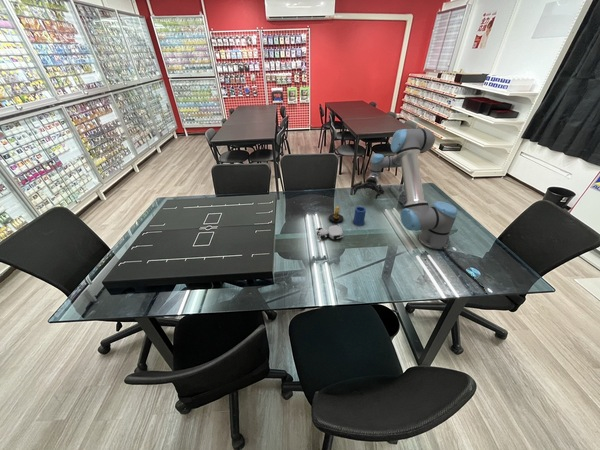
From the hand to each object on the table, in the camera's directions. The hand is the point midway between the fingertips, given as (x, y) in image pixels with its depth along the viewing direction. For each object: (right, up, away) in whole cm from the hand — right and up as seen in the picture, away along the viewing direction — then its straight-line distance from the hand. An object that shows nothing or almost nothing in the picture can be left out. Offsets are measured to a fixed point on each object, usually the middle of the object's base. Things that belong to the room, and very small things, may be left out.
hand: (365, 194), depth 154 cm
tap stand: (-18, -15, +4) cm, 24 cm away
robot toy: (-24, -25, -10) cm, 36 cm away
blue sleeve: (-4, -17, +1) cm, 18 cm away
